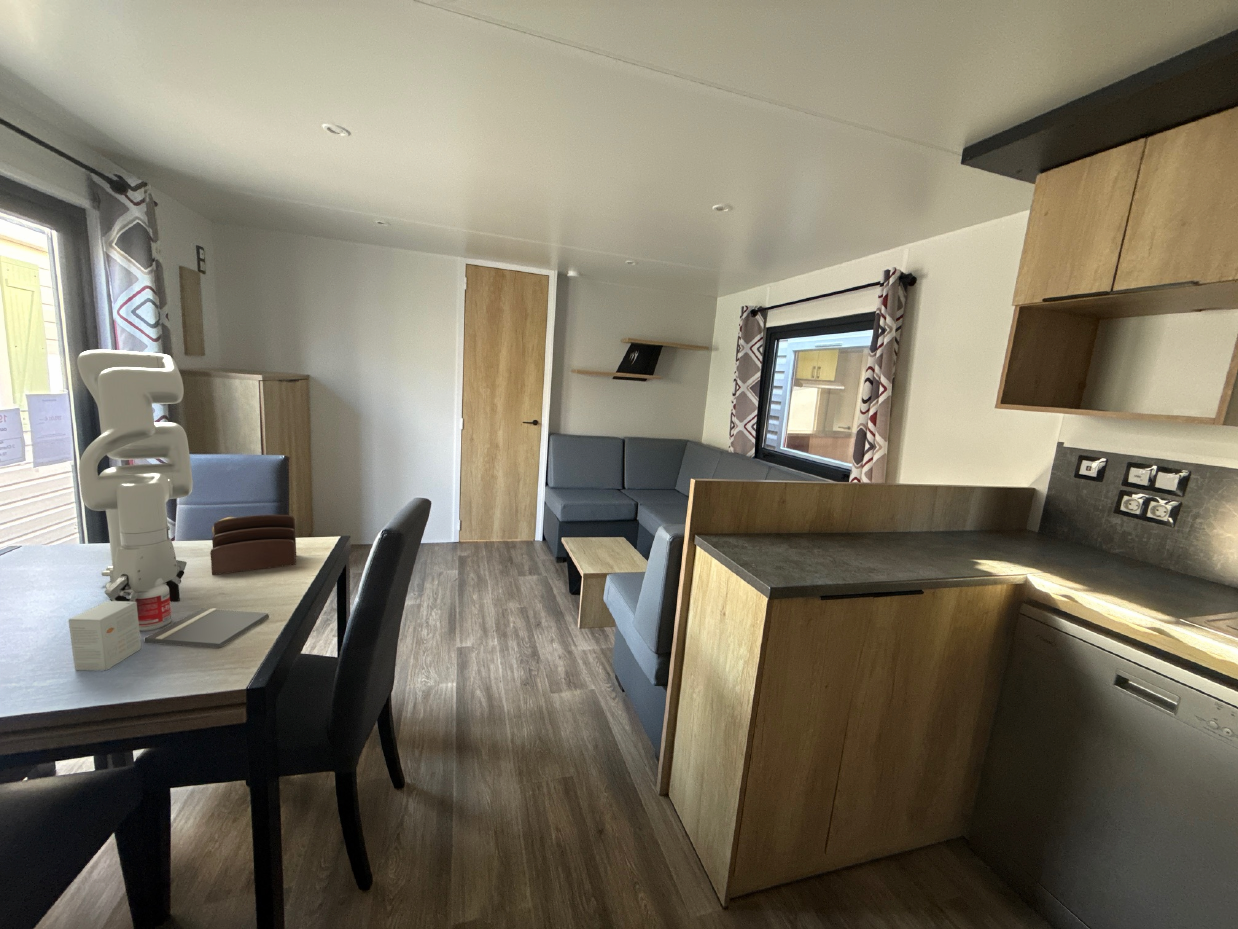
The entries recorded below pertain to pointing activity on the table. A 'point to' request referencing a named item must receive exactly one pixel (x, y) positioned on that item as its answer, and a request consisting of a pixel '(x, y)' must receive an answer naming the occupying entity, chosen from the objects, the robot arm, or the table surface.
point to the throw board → (207, 628)
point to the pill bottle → (154, 607)
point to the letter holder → (253, 543)
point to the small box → (104, 635)
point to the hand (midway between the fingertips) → (152, 610)
